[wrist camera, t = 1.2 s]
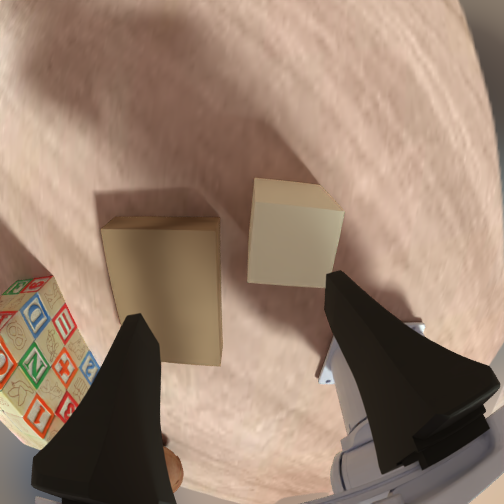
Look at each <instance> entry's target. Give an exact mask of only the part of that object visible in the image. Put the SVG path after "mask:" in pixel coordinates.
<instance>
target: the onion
mask: <svg viewBox="0 0 504 504" xmlns="http://www.w3.org/2000/svg"><path fill="white" fill-rule="evenodd" d="M163 448H164V454H165V460H166V465H167V470H168V474H169V479H170V483H171V487H172V490H173V493H174V492H175V491H176V490H177V489H178V488H179V487H180V485H181V483H182V480H183V468H182V464H181V461H180V459H179V457H178V456H176V455H175V454H174V453H173V452H172V451H171V450H169V449H168V448H166V447H164V445H163Z"/></svg>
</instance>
